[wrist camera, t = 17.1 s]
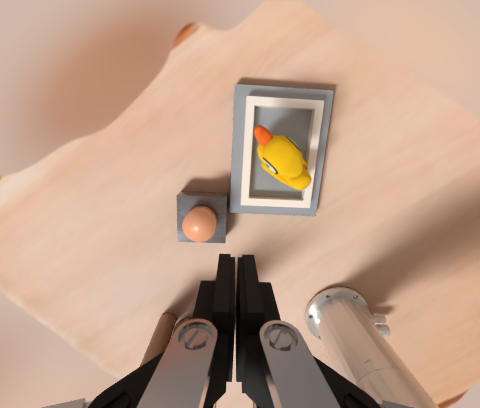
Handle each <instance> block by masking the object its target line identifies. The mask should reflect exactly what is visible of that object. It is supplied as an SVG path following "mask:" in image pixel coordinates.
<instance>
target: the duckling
mask: <svg viewBox="0 0 480 408" xmlns="http://www.w3.org/2000/svg"><path fill="white" fill-rule="evenodd" d="M254 134H255V137H256V139H257V141H258V142H259V145H258V147H257V153H258V156H259V158H260V160H261V161H262V162H261V166H262V168H263V169H264V170H265V171H266V172H268V173H269V174H270V175H272V176H273V177H275V178H276V179H278V180H279V181H280V182H282V183H284V184H287V185H288V186H290V187H292V188H294V189H297V190H304V189H305V188H307V187H308V186H309V185H310V183H311V180H312V178H311V175H310V174H309V173H308V172H307V170H306V169H305V168H308V165H307V163H306V162H305V160H304V159H303V156H302V152H301V150H300V148H299V146H298V145H297V144H296V143H295V142H294V141H293V140H292V139H290V138H289V137H286V136H276V135H272V134H271V133H270V132H269V131H268V130H267V129H266V128H265V127H263V126H262V125H258V126H256V127H255V129H254Z"/></svg>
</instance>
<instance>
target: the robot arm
mask: <svg viewBox="0 0 480 408" xmlns="http://www.w3.org/2000/svg"><path fill="white" fill-rule="evenodd" d="M305 320H306V324H307V326H308V329H309V330H310V332H311V333H312V334H313V335H314V336H315V337H316V338H318V339H320V340H322V341H323V343H324V346H325V348H326V350H327V352H328V354H329V357H330V359H331V361H332V363H333V365H334V368H335V370H336V371H334V370H333V369H331V368H330V367H329V366H327V365H326V364H324V363H323V362H321V361H320V360H318V359H317V358H316V357H314V356H313V355H312V354H311V352H310V350H309V348H308V346H307V344H306V342H305V341H304V339H303V337H302V335H301V333H300V332H299V331H298V329H297V328H295V327H294V326H293V325H291V324H289V323H287V322H284V321H281V319H280V315H279V312H278V308H277V304H276V301H275V297H274V293H273V289H272V286H271V283H270V282H259V281H258V275H257V270H256V264H255V259H254V255H242V258H241V257H238V269H237V287H236V305H235V257H230V254H219V262H218V270H217V278H216V281H201V283H200V288H199V292H198V296H197V301H196V305H195V309H194V313H193V318H192V320H188V321H186V322H184V323H182V324H181V325H180V326H179V327H178V328H177V329H176V331H175V332H174V334H173V336H172V338H171V340H170V342H169V344H168V346H167V348H166V350H165V351H163V352H162V353H160V354H159V355H157V356H156V357H154V358H153V359H151V360H150V361H148V362H147V363H145V364H144V365H142V366H141V367H139V368H138V369H136V370H135V371H133V372H132V373H130V374H129V375H127V376H126V377H124V378H123V379H121V380H120V381H118V382H117V383H115V384H114V385H112V386H111V387H109V388H107V389H106V390H105V391H103V392H102V393H101V394H100V395H98V396H97V397H96V398H95V399H94V400H93V401H91V402H86V400H85V398H83V399H79V400H74V401H70V402H66V403H61V404H57V405H52V406H47V407H43V408H215V402H216V401H217V400H218V399H219V398H220V397H221V396H222V395H223V394H224V393H225V392H226V382H232V369H233V351H234V333H235V323H236V382H242V393H246V394H247V395H248V397H249V398H250V399H251V400H252V401H253V408H439V407H438V406H437V404H436V403H435V402H434V401H433V400H432V398H431V397H430V396H429V395H428V393H427V392H426V391H425V390H424V388H423V387H422V386H421V385H420V383H419V382H418V381H417V379H416V378H415V377H414V376H413V374H412V373H411V372H410V370H409V369H408V368H407V367H406V365H405V364H404V363H403V361H402V360H401V359H400V358H399V356H398V355H397V354H396V352H395V351H394V350H393V349H392V347H391V346H390V345H389V343H388V342H387V341H386V340H385V338H384V337H383V336H389V335H390V329H389V327H388V326H387V325H378V324H376V325H374V323H386V318H385V316H383V315H376V316H375V315H372V314H371V313H370V312H369V309H368V305H367V303H366V301H365V300H364V298H363V297H362V296H361V295H360V294H359V293H358V292H356V291H355V290H352V289H350V288H345V287H335V288H330V289H327V290H324V291H322V292H320V293H319V294H318V295H316V296H315V297H314V298H313V299H312V300H311V302H310V303H309V304H308V307H307V309H306V313H305Z"/></svg>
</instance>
